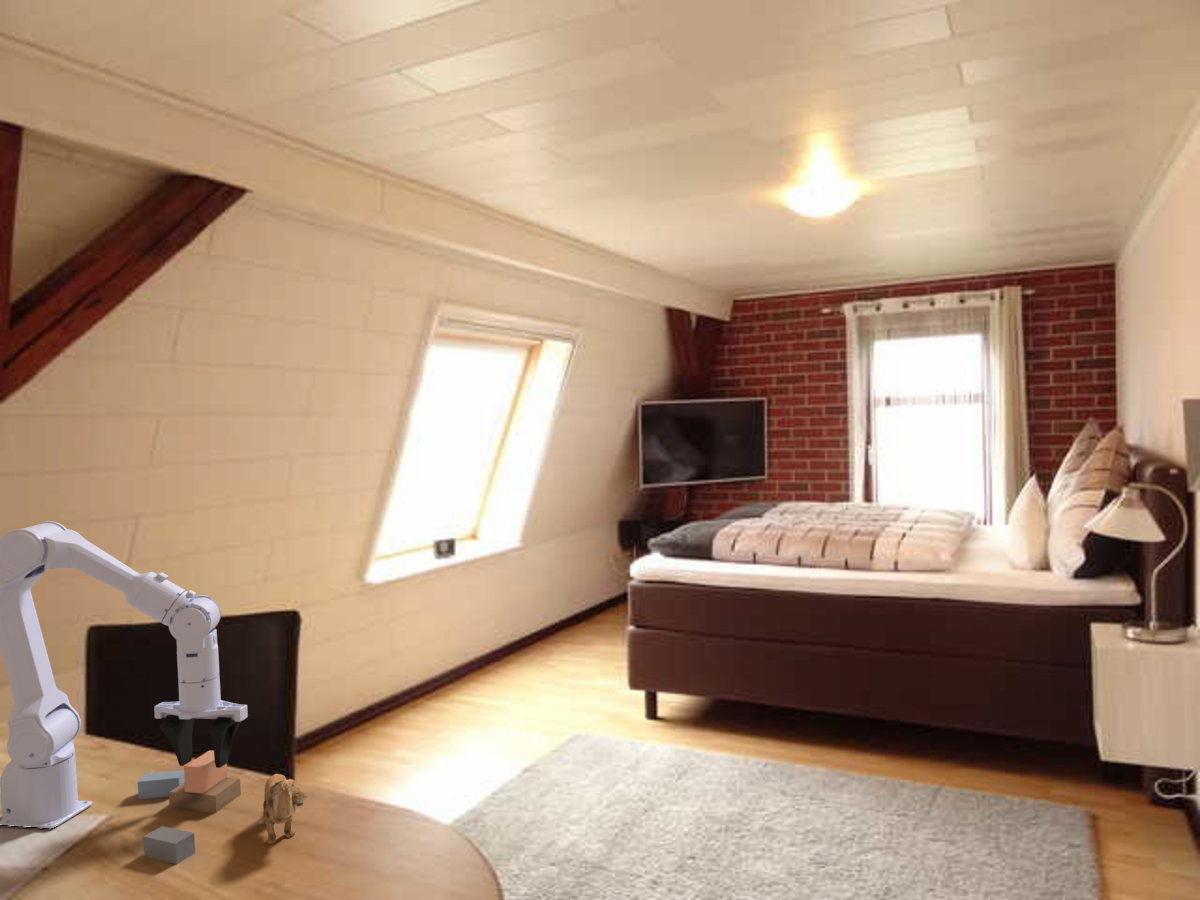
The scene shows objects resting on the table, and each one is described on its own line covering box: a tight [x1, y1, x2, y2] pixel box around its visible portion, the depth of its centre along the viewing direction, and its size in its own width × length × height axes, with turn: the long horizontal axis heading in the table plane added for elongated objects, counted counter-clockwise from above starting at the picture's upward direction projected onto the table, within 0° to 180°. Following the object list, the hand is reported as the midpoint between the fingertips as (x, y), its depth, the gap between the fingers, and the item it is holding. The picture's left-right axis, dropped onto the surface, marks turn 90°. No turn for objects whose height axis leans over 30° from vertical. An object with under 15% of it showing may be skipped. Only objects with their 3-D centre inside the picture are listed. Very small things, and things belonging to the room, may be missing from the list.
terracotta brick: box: [183, 750, 228, 794], centre depth 131 cm, size 3×6×4 cm, turn 169°
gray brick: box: [142, 825, 196, 865], centre depth 115 cm, size 6×3×3 cm, turn 68°
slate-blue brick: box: [137, 769, 184, 800], centre depth 134 cm, size 6×3×3 cm, turn 100°
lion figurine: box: [261, 773, 308, 845], centre depth 121 cm, size 15×5×9 cm, turn 34°
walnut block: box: [168, 776, 242, 814], centre depth 131 cm, size 8×6×3 cm
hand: (203, 764), depth 130 cm, fingers open, 6 cm apart
